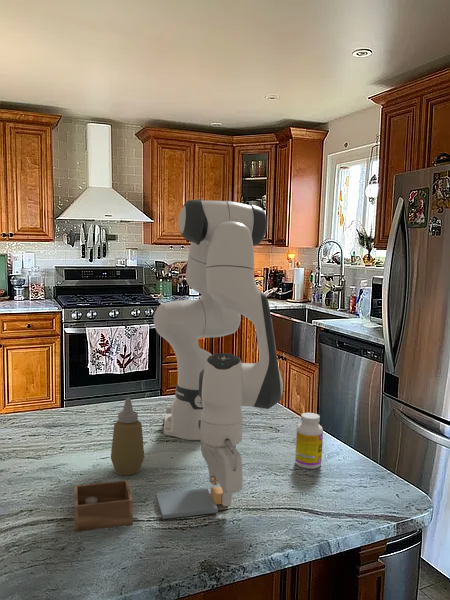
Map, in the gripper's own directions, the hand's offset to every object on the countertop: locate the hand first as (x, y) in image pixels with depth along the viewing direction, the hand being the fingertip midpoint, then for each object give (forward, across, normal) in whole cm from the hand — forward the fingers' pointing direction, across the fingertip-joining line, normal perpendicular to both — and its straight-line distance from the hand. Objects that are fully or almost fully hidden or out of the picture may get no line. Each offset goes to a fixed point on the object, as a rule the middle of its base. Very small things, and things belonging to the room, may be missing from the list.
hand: (219, 493), depth 113 cm
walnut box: (+2, 0, +24) cm, 25 cm away
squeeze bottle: (+2, +20, +18) cm, 27 cm away
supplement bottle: (+2, +14, -28) cm, 31 cm away
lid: (+2, 0, +6) cm, 6 cm away
